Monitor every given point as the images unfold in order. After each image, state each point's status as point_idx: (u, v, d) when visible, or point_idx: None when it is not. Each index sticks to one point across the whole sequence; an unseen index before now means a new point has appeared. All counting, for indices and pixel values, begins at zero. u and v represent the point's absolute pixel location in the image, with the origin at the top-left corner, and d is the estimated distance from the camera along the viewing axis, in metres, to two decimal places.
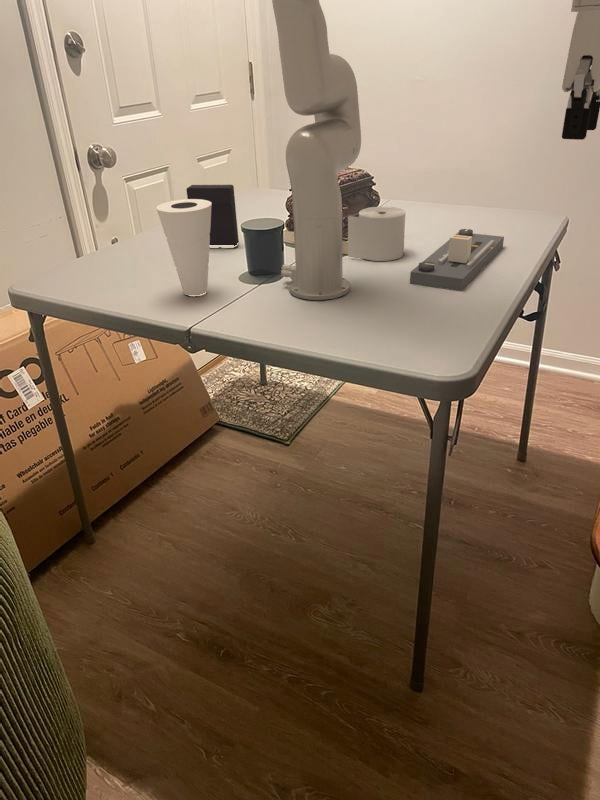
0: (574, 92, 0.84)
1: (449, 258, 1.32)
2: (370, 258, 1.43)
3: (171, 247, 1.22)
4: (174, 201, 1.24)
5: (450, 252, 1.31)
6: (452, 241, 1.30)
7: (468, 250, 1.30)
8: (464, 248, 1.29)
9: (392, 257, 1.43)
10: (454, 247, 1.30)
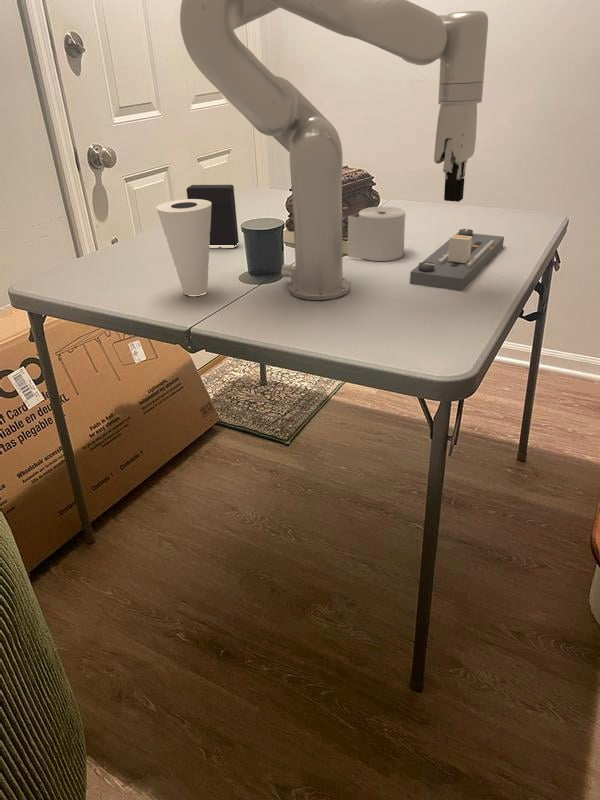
0: (447, 172, 1.14)
1: (449, 258, 1.32)
2: (370, 258, 1.43)
3: (171, 247, 1.22)
4: (174, 201, 1.24)
5: (450, 252, 1.31)
6: (452, 241, 1.30)
7: (468, 250, 1.30)
8: (464, 248, 1.29)
9: (392, 257, 1.43)
10: (454, 247, 1.30)
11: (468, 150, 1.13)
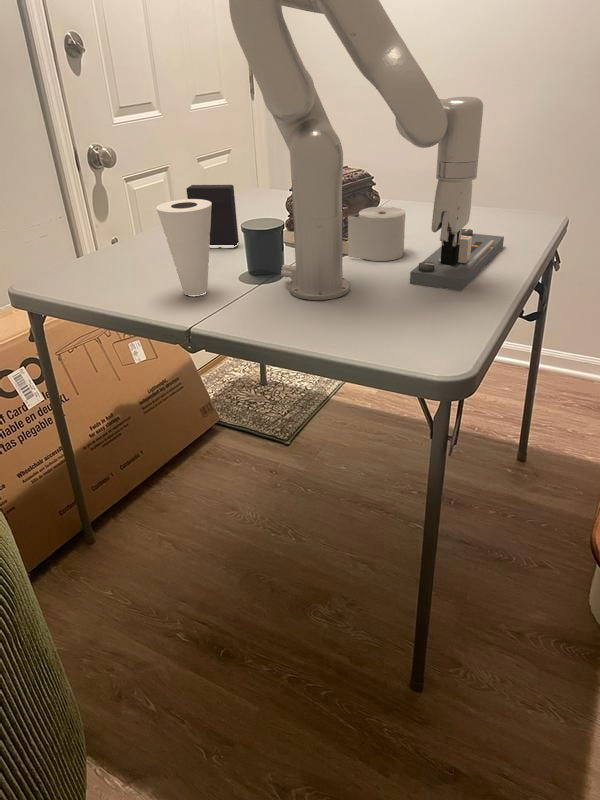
0: None
1: None
2: (370, 258, 1.43)
3: (171, 247, 1.22)
4: (174, 201, 1.24)
5: None
6: None
7: (468, 250, 1.30)
8: (464, 248, 1.29)
9: (392, 257, 1.43)
10: None
11: (463, 220, 1.21)
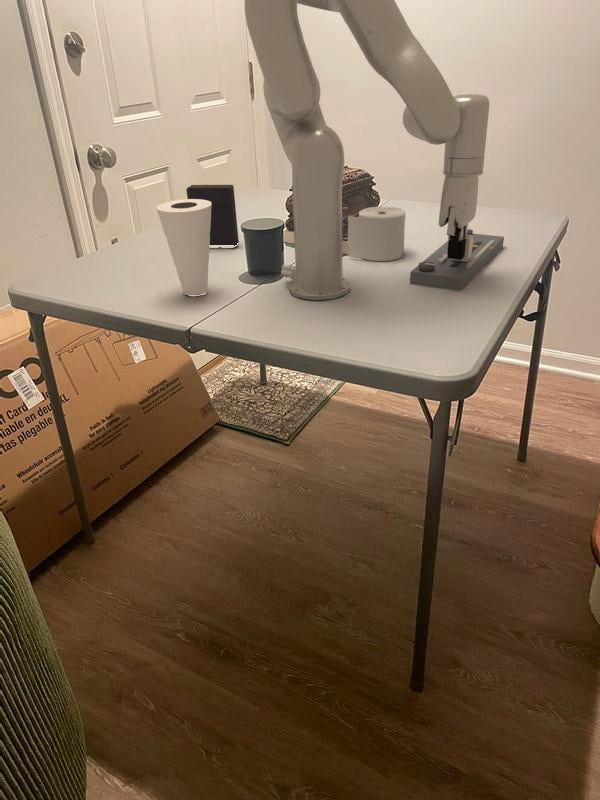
0: None
1: None
2: (370, 258, 1.43)
3: (171, 247, 1.22)
4: (174, 201, 1.24)
5: None
6: None
7: (469, 249, 1.31)
8: (465, 247, 1.30)
9: (392, 257, 1.43)
10: None
11: (470, 215, 1.24)
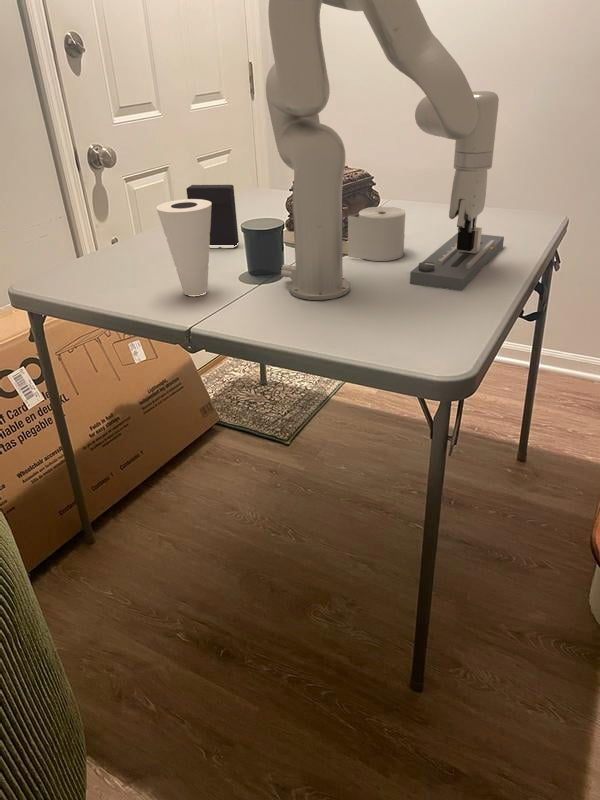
0: (460, 226, 1.29)
1: None
2: (370, 258, 1.43)
3: (171, 247, 1.22)
4: (174, 201, 1.24)
5: None
6: None
7: (478, 241, 1.35)
8: (474, 239, 1.35)
9: (392, 257, 1.43)
10: None
11: (479, 208, 1.29)
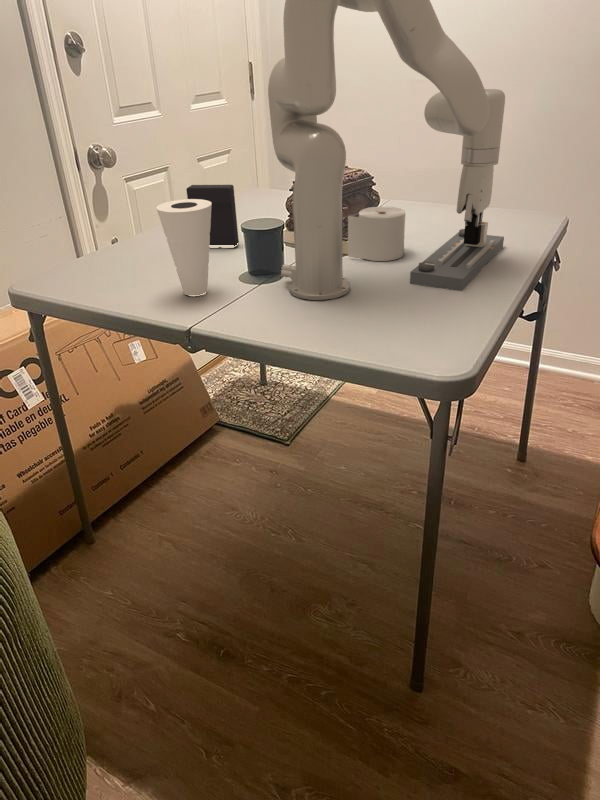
0: None
1: None
2: (370, 258, 1.43)
3: (171, 247, 1.22)
4: (174, 201, 1.24)
5: None
6: None
7: (484, 235, 1.39)
8: (481, 233, 1.38)
9: (392, 257, 1.43)
10: None
11: (485, 202, 1.32)
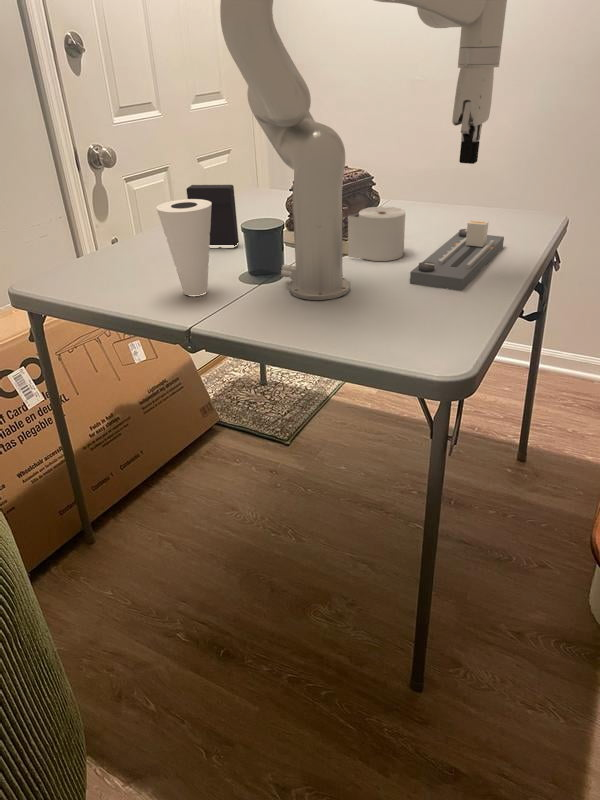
0: (464, 134, 1.20)
1: (467, 242, 1.41)
2: (370, 258, 1.43)
3: (171, 247, 1.22)
4: (174, 201, 1.24)
5: (468, 237, 1.40)
6: (470, 226, 1.39)
7: (485, 235, 1.39)
8: (481, 233, 1.39)
9: (392, 257, 1.43)
10: (472, 232, 1.40)
11: (484, 113, 1.19)
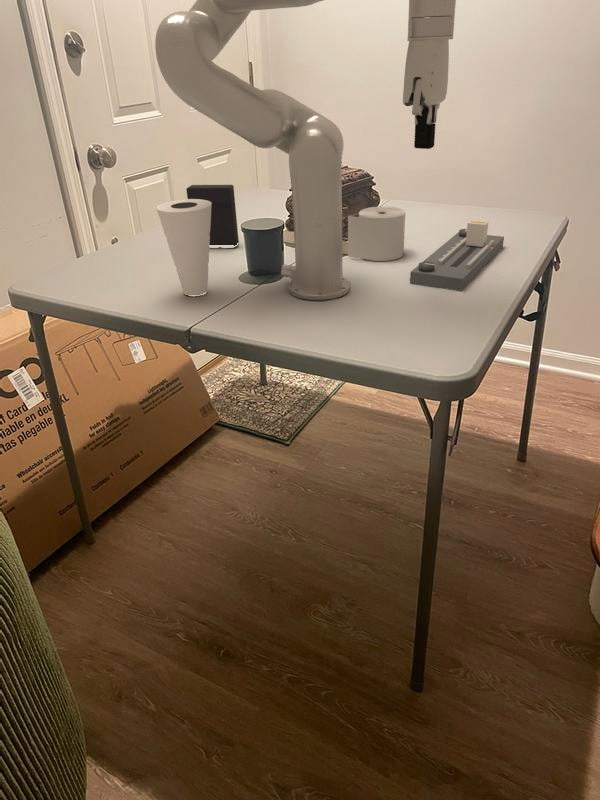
0: (416, 115, 1.08)
1: (467, 242, 1.41)
2: (370, 258, 1.43)
3: (171, 247, 1.22)
4: (174, 201, 1.24)
5: (468, 237, 1.40)
6: (470, 226, 1.39)
7: (485, 235, 1.39)
8: (481, 233, 1.39)
9: (392, 257, 1.43)
10: (472, 232, 1.40)
11: (439, 92, 1.07)
